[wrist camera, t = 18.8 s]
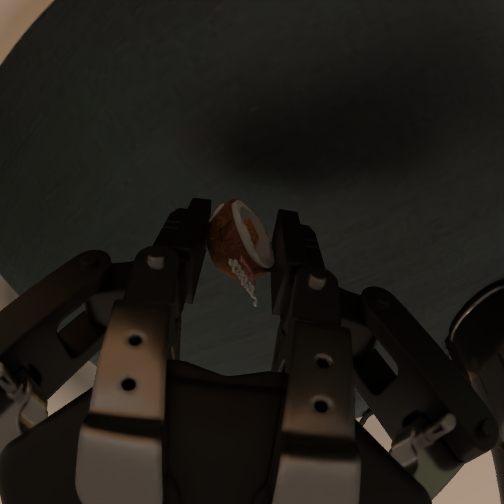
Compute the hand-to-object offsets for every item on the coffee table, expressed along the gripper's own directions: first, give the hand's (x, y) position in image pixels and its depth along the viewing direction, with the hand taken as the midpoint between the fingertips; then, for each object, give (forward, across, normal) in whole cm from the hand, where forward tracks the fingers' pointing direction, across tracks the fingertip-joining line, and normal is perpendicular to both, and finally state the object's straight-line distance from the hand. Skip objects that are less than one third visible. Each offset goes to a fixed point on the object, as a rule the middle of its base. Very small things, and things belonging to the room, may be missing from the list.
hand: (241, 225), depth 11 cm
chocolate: (0, 0, 0) cm, 0 cm away
